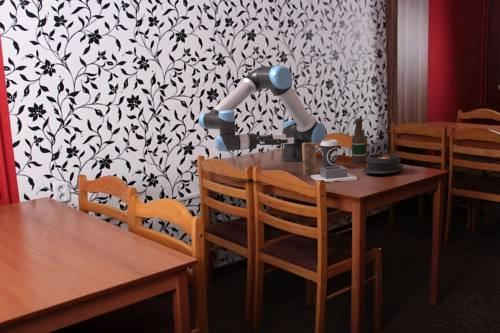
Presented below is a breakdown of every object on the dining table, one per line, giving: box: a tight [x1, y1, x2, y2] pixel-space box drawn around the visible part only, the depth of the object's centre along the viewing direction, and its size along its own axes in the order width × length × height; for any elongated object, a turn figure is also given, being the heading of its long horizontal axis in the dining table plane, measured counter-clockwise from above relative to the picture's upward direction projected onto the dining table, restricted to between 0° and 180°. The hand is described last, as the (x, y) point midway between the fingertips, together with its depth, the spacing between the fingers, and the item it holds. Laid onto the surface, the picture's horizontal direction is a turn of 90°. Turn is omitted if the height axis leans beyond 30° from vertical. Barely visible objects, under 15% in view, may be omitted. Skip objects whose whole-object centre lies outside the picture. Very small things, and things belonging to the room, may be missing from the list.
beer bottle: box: [351, 118, 367, 165], centre depth 297 cm, size 8×8×24 cm
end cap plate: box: [310, 165, 358, 183], centre depth 262 cm, size 18×14×5 cm
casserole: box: [362, 153, 405, 175], centre depth 271 cm, size 25×19×8 cm
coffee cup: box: [319, 139, 340, 167], centre depth 284 cm, size 10×10×15 cm
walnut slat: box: [302, 142, 317, 176], centre depth 274 cm, size 6×3×16 cm, turn 102°
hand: (289, 138), depth 269 cm, fingers open, 13 cm apart
